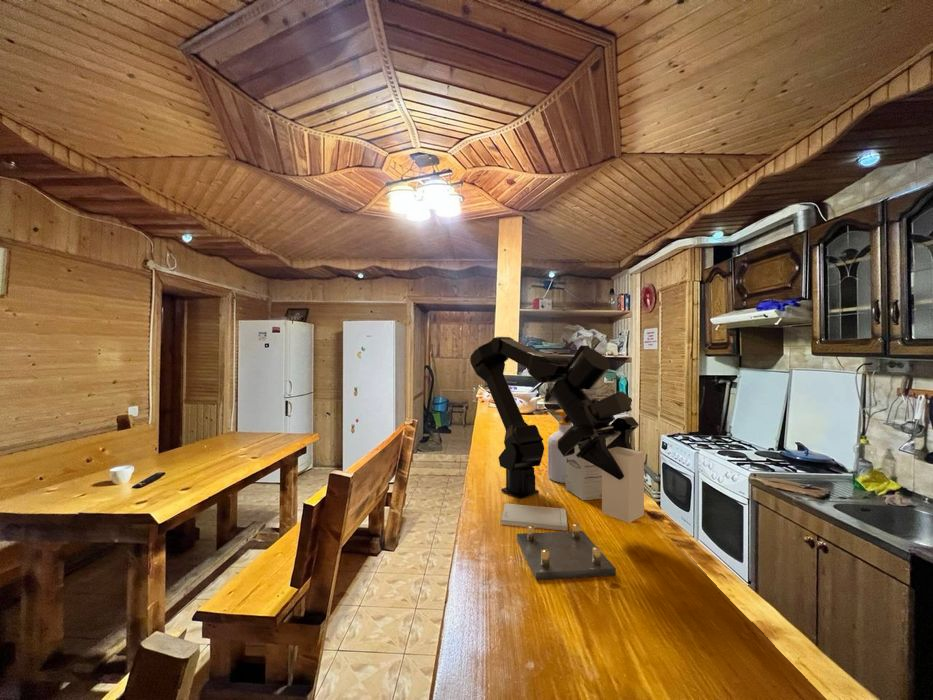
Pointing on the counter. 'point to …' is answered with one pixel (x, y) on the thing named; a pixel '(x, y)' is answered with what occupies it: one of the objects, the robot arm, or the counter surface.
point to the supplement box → (583, 477)
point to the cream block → (624, 486)
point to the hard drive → (534, 517)
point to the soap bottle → (557, 452)
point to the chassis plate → (563, 554)
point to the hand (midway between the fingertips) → (630, 475)
